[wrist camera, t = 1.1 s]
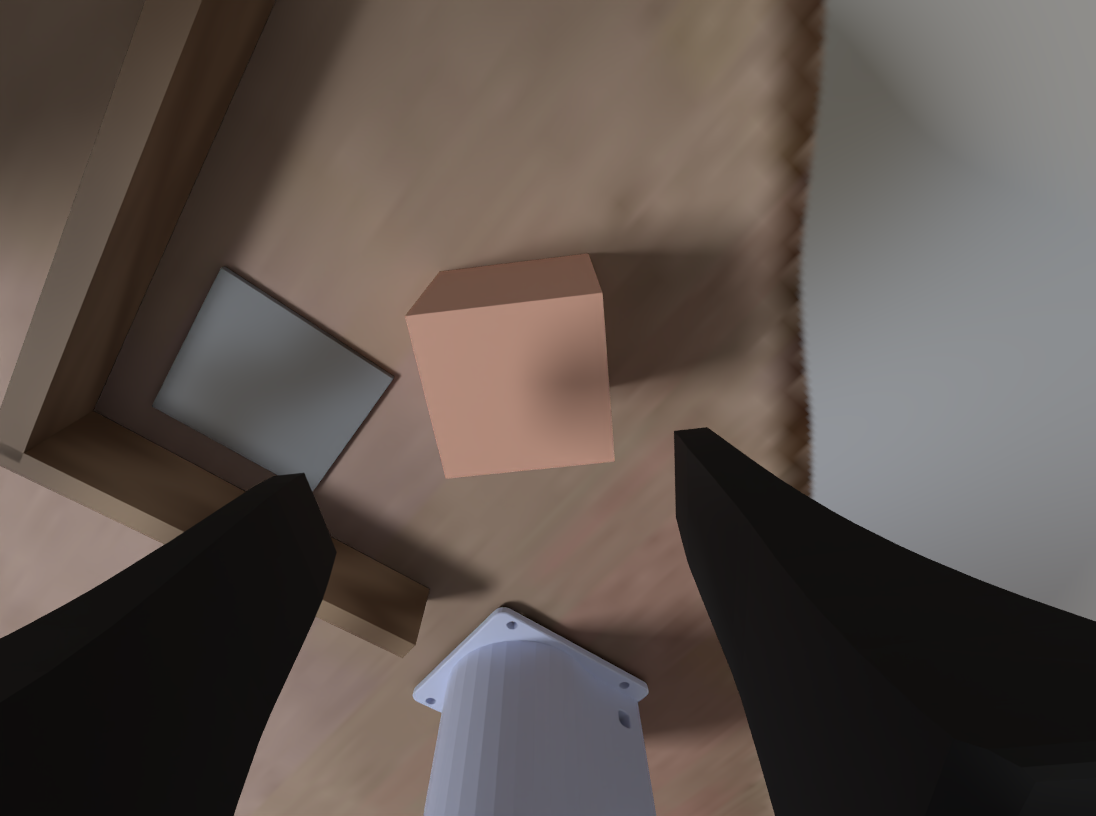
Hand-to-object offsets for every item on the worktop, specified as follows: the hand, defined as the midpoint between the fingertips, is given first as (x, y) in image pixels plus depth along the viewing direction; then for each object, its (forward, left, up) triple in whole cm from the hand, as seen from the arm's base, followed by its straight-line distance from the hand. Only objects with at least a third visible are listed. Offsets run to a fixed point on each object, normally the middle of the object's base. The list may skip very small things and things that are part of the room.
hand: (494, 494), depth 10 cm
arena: (+4, +4, -9) cm, 11 cm away
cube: (0, 0, -10) cm, 10 cm away
